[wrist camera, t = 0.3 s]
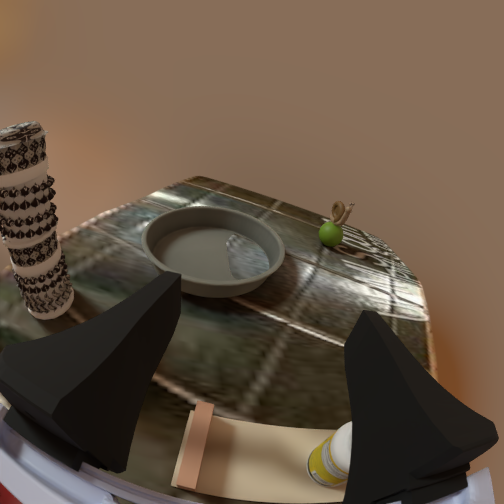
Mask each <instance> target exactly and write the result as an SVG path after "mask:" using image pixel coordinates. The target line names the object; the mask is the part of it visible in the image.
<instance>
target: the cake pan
mask: <svg viewBox="0 0 504 504" xmlns="http://www.w3.org/2000/svg"><path fill="white" fill-rule="evenodd" d="M235 233H236V234H239V235H242V236H244V237H246V238H248V239H250V240H251V241H253V242H254V243H256V244H257V245H258V246H259V247H260V248H261V249H262V250H263V251H264V253H265V254H266V256H267V258H268V261H269V270H268V271H266V272H264V273H262V274H260V275H257V276H255V277H251V278H247V279H242V280H237V279H236V278H234V277H233V276H232V273H231V271H230V269H229V262H228V254H227V246H226V242H227V240H228V239H229V238H230V236H231V235H233V234H235ZM141 241H142V247H143V250H144V252H145V253H146V255H147V257H148V258H149V259H150V260H151V261H152V264H153V267H154V269H155V270H156V272H157V274H158V275H161V274H162V273H164V272H165V271H171V272H175V273H179V274H182V276H181V291H183V292H186V293H189V294H192V295H197V296H202V297H210V298H225V297H233V296H238V295H242V294H245V293H248V292H250V291H252V290H254V289H256V288H257V287H259V286H260V285H261V284H263V282H264V281H265V280H266V279H267V277H268V276H270V275H271V274H273V273H274V272H275V271H276V270H277V269H278V268H279V267H280V266H281V265H282V263H283V261H284V257H285V247H284V244H283V242H282V240H281V238H280V237H279V235H278V234H277V233H276V232H275V231H274V230H273V229H272V228H271V227H269V226H268V225H267V224H265V223H264V222H262V221H260V220H258V219H256V218H254V217H252V216H250V215H247V214H245V213H242V212H238V211H235V210H231V209H226V208H220V207H210V206H194V207H185V208H179V209H175V210H171V211H169V212H166V213H163V214H161V215H159V216H158V217H156V218H155V219H153V220H152V221H151V222H150V223H149V224H148V225H147V226H146V228H145V229H144V231H143V234H142V240H141Z"/></svg>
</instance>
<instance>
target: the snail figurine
mask: <svg viewBox="0 0 504 504" xmlns="http://www.w3.org/2000/svg"><path fill="white" fill-rule="evenodd" d="M349 205H353V206H354V203H349ZM351 211H352V208H351V207H346V209H345V206H344V204H343V203H342V202H341V201H336V202H335V203H334V205H333V207H332V214H331V215H330V219H331V222H327V223H325V224H323V225H322V227H321V228H320V230H319V238H320V240H321V242H322V243H323V244H324V245H326V246H329V247H334V246H336V245H338V244H339V243H340V242H341V241H342V239H343V230H342V228H341V226H342V225H343V224H344V223H345V222H346V220H347V219H348V217H349V214H350V213H351Z"/></svg>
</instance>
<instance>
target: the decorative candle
mask: <svg viewBox="0 0 504 504" xmlns="http://www.w3.org/2000/svg"><path fill="white" fill-rule="evenodd" d="M47 133H48V131H44V130H43V128H42V127H41V125H40V124H39V123H38V122H36V121H32V122H25V123H21V124H17V125H14V126H10V127H7V128H5V129H2V130H0V231H1V234H2V235H1V236H2V238H3V244H4V245H5V246H7V247H8V250H9V253H10V256H11V257H10V258H11V263H12V266H13V273H14V278H15V279H16V281H17V282H18V283H17V286H18V287H19V288H20V292H21V296H22V298H23V299H24V302H25V305H26V306H27V307H28V310H29V312H30V314H31V315H33V316H34V317H35V318H38V319H42V320H48V319H54V318H56V317H58V316H60V315H62V314H64V313H65V312H66V311H67V310H68V309H69V308H70V307H71V304H72V302H73V300H74V290H73V289H72V287H71V286H72V283H70V282H69V280H70V275H69V274H66V273H67V272H68V270H67V269H66V268H67V264H66V263H65V260H64V259H65V255H64V254H63V251H62V250H61V247H60V243H59V241H58V239H57V235H56V231H55V230H56V227H57V223H58V222H57V221H58V217H56V215H55V214H54V213H55V210H56V205H54V203H52V202H50V200H51V199H52V198H53V197H54V195H55V194H56V192H55V190H53V189H52V188H50V187H51V186H52V185H53V182H54V178H52V177H51V176H48V175H47V169H48V168H49V167H48V157H47V156H46V153H45V149H46V143H45V135H46V134H47ZM1 225H3V228H2V226H1Z"/></svg>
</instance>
